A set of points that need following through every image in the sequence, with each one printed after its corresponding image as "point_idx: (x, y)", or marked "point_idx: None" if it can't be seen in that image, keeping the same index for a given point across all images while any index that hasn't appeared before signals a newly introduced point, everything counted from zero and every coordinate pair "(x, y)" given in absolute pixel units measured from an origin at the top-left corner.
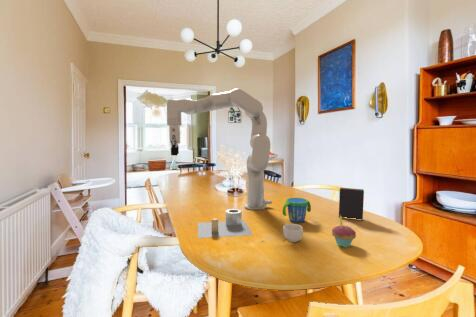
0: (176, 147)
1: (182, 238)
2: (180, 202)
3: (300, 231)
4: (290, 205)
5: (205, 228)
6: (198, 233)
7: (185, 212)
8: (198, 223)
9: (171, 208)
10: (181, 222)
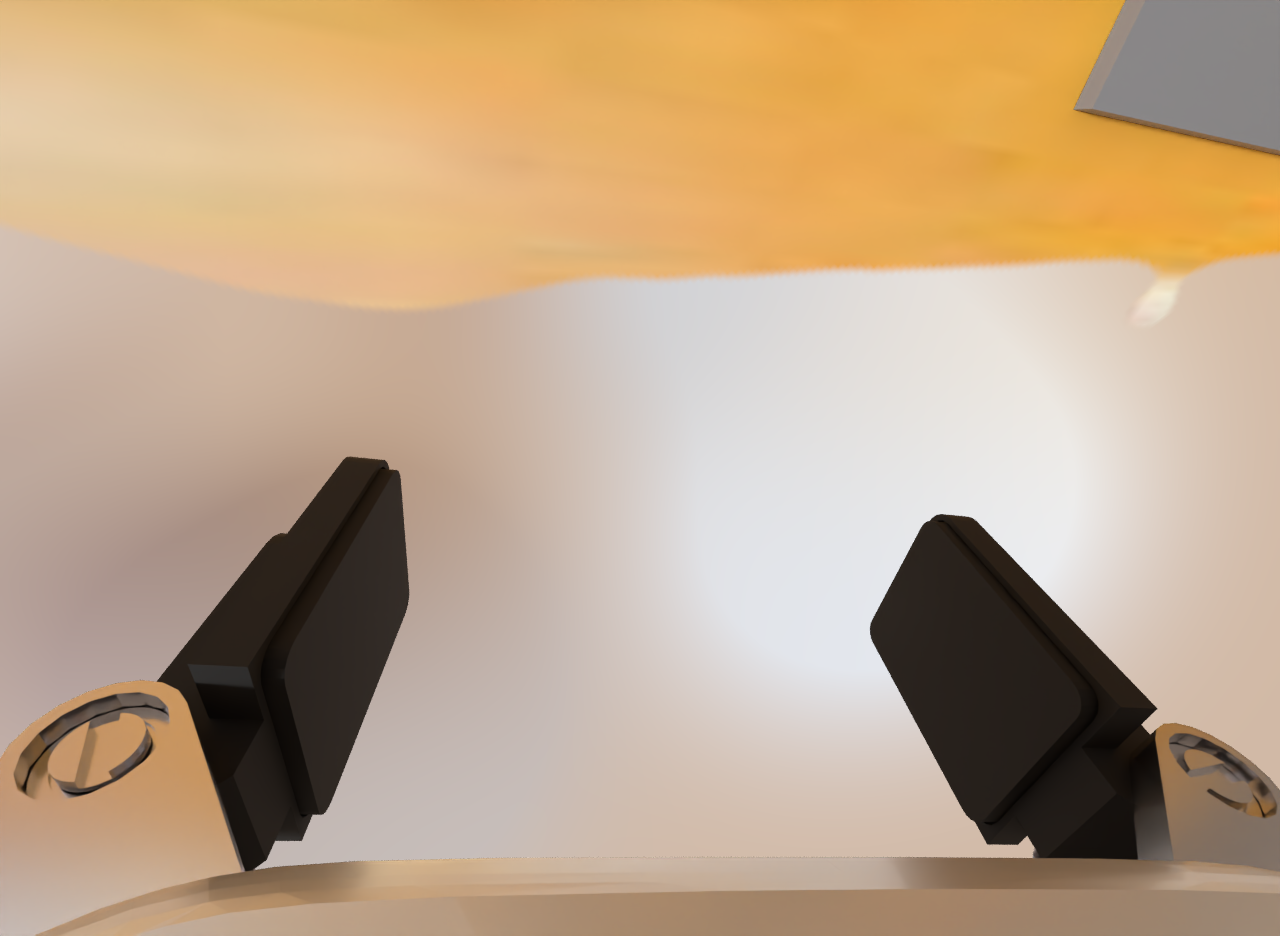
0: (1207, 735)
1: (1191, 249)
2: (324, 175)
3: None
4: None
5: (1239, 69)
6: (1277, 145)
7: (693, 165)
8: (1106, 106)
9: (536, 278)
10: (924, 227)
